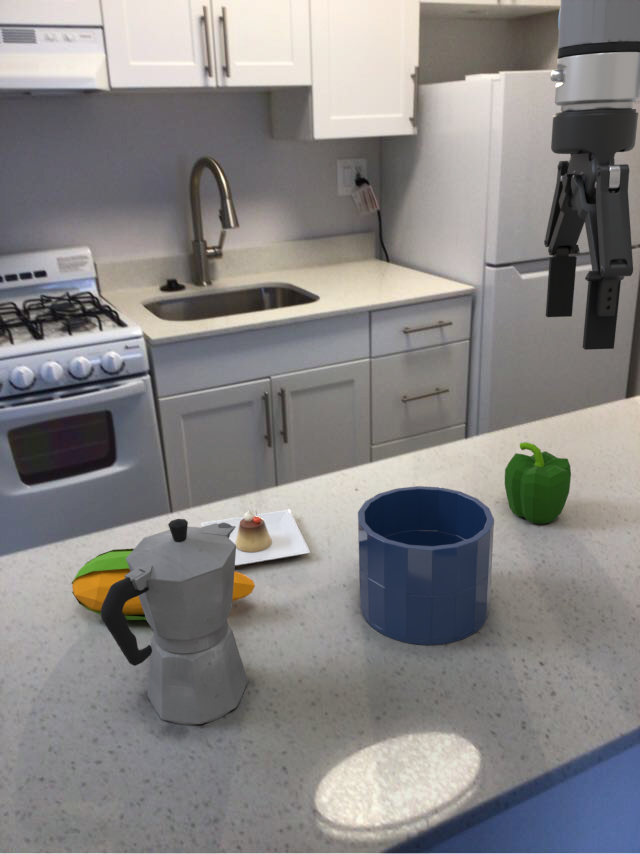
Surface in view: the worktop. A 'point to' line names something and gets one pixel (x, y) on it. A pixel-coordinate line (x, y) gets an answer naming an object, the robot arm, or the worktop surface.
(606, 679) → the worktop surface
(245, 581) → the corn
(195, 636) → the coffeepot
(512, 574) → the worktop surface
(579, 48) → the robot arm
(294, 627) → the worktop surface
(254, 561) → the dessert
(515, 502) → the bell pepper
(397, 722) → the worktop surface
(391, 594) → the pot
